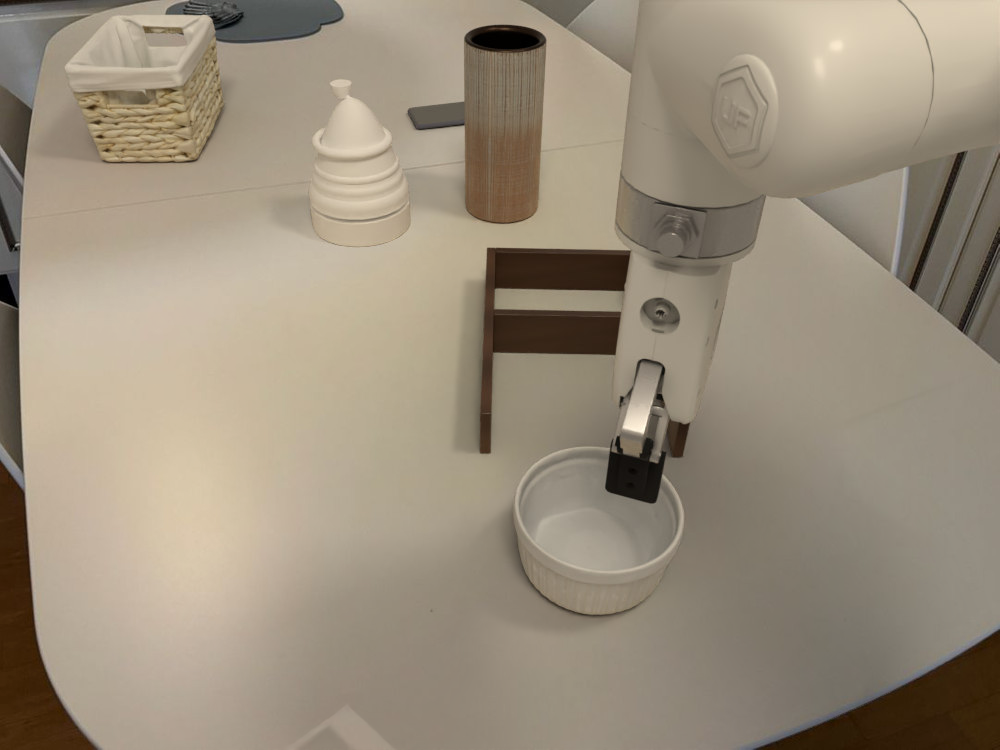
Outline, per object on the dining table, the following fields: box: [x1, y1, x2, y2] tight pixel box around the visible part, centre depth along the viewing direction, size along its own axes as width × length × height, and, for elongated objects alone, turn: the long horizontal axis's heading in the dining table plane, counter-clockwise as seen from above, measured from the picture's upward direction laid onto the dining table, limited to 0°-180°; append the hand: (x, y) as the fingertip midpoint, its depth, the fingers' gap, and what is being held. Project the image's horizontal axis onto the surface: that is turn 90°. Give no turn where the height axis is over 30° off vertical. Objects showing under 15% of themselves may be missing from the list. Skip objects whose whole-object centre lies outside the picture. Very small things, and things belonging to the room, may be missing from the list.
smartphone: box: [407, 101, 465, 130], centre depth 141 cm, size 8×1×15 cm
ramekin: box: [512, 445, 685, 616], centre depth 68 cm, size 13×13×7 cm
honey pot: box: [308, 78, 411, 248], centre depth 108 cm, size 13×13×18 cm
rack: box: [479, 247, 691, 458], centre depth 89 cm, size 29×19×5 cm, turn 179°
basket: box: [63, 14, 226, 163], centre depth 129 cm, size 24×16×15 cm
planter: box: [463, 24, 548, 224], centre depth 110 cm, size 10×10×23 cm
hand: (648, 443), depth 56 cm, fingers open, 9 cm apart
